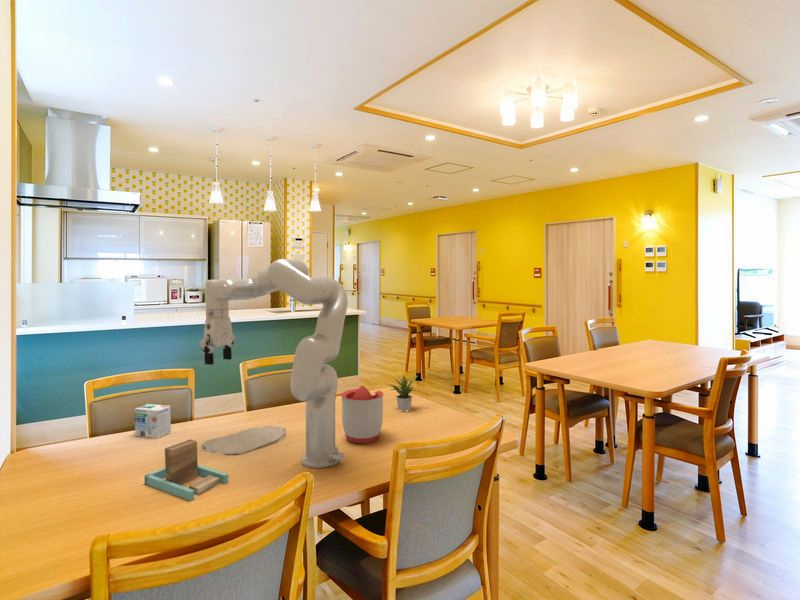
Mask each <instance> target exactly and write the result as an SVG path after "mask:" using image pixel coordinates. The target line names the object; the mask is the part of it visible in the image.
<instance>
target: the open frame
mask: <svg viewBox="0 0 800 600" xmlns="http://www.w3.org/2000/svg"><path fill="white" fill-rule="evenodd" d="M209 475H211V476H214V477H218V478H219V484H223V485H225V484H227V483H229V474H228V473H225V472H222V471H219V470H216V469H213V468H209V467H206V466H203V465H200V464H198V477H199V476H200V477H202V478H205V477H207V476H209ZM164 478H165V479H164ZM144 485H146V486H149V487H151V488H154V489H158V490H160V491H163V492H165V493H168V494H171V495H174V496H175V497H179V498H182V499H184V500H186V501H189V502H191V501H193V500H195V497H194V490H192V489H189V487H185V486H184V485H178V484H175V483H172V482H169V481H167V480H166V471H165V467H163V468H160V469H158V470H155V471H153V472H151V473H147V474H145V475H144Z"/></svg>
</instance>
